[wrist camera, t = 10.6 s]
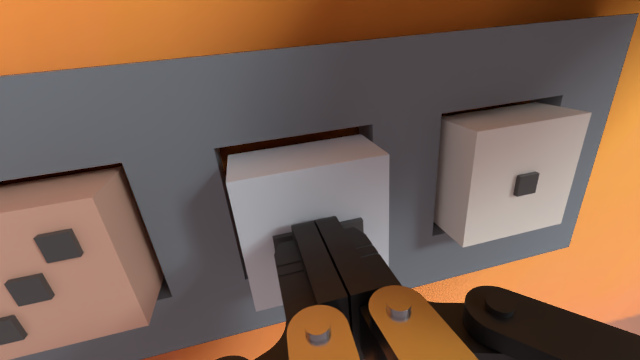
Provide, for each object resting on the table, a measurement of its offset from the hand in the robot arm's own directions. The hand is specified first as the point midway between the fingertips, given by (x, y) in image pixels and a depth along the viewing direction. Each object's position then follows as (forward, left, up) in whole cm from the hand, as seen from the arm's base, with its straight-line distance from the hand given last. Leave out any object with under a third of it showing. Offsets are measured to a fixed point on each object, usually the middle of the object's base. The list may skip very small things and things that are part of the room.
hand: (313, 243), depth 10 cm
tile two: (0, 0, -3) cm, 3 cm away
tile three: (+9, 0, -3) cm, 9 cm away
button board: (0, 0, -4) cm, 4 cm away
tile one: (-9, 0, -3) cm, 10 cm away
